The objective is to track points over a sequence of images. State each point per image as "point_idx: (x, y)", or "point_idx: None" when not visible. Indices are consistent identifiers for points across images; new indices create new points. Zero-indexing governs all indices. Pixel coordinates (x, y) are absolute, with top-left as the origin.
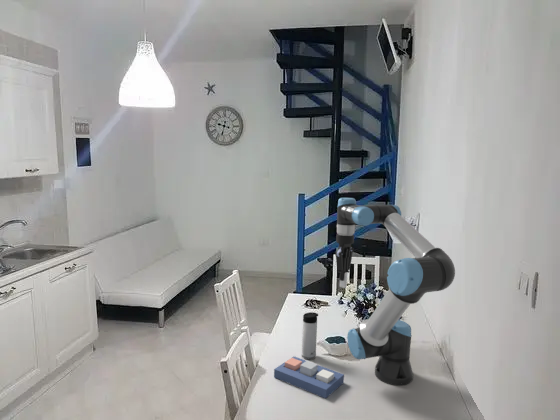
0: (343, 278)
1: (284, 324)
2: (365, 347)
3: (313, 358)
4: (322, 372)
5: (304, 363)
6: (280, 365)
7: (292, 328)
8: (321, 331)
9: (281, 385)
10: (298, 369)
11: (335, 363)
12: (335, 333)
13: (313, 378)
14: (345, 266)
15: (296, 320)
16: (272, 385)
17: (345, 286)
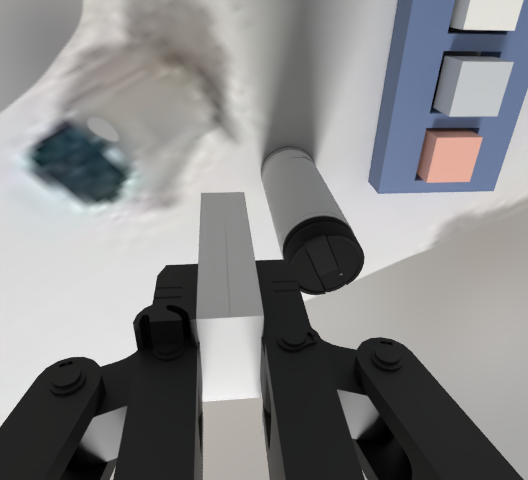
0: (273, 278)
1: None
2: None
3: (297, 148)
4: (490, 16)
5: (477, 111)
6: (462, 189)
7: (132, 329)
8: (64, 249)
9: (515, 132)
10: (463, 125)
11: (275, 56)
12: (28, 199)
13: (507, 38)
14: (292, 452)
15: (63, 356)
16: (524, 154)
17: (231, 199)
